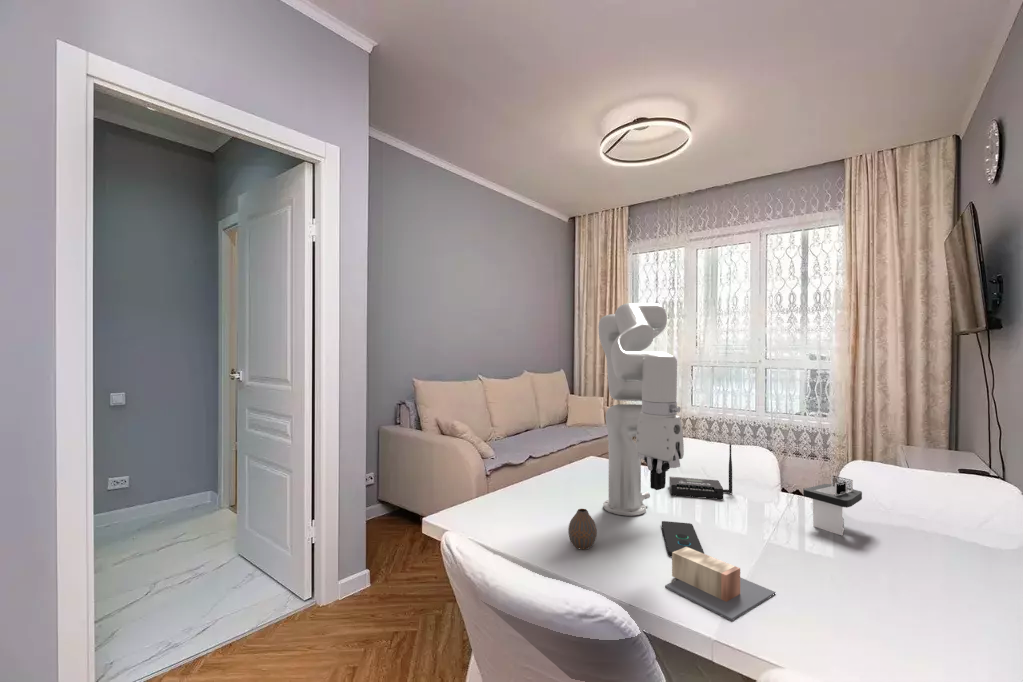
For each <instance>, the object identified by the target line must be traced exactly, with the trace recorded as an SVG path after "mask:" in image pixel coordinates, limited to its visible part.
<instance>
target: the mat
mask: <svg viewBox="0 0 1023 682" xmlns="http://www.w3.org/2000/svg"><path fill="white" fill-rule="evenodd" d="M664 588H666V589H668V590H669V591H671V592H674V593H675V594H677V595H679V596H681V597H683V598H685V599H687V600H690V601H691V602H693V603H696V604H697V605H699V606H701V607H703V608H705V609H707V610H710V611H711V612H713V613H715V614H717V615H719V616H720V617H723V618H725V619H727V620H729V621H731V622H733V621H734V620H735V619H737V618H739V617H740V616H743V614H746V613H747V612H748V611H750V610H752V609H754V608H755V607H757V606H758V605H760V604H761V603H763V602H765V601H766V599H767V600H768V599H770V598H771V597H770V596H772V595H773V594H775V593H776V591H775V590H772V589H769V588H766V587H764V586H762V585H759V584H757V583H755V582H753V581H750V580H748V579H745V578H743V577H741V576H740V594H739V595H738V596H736V597H734V598H732V599H730V600H729V601H727V602H726V601H724V600H721V599H719V598H717V597H715V596H713V595H711V594H709V593H707V592H705V591H702V590H700V589H698V588H696V587H694V586H692V585H690V584H688V583H685V582H683V581H681V580H679V579H676V580H675V581H674V580H673V581H671V582H670V583H667V584H665V586H664ZM775 595H776V594H775ZM773 596H774V595H773ZM773 596H772V597H773ZM769 597H770V598H769Z"/></svg>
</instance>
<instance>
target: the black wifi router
mask: <svg viewBox="0 0 1023 682" xmlns="http://www.w3.org/2000/svg"><path fill="white" fill-rule="evenodd" d="M728 445H729V458H728V460H729V461H728V489H726V488H723V486H722V485H721V483H720V480H718V479H707V478H706V479H705V478H692V477H691V478H690V477H678V476H677V477H676V476H669V481H668V482H669V484H668V485H669V490H670V496H675V495H676V497H686V496H691V497H690V498H698V497H706V498H705V499H709V498H717V499H716V500H721V499H723V500H724V493H725V494H726V493H727V494H730V493H732V494H733V461H732V443H729V444H728ZM692 496H693V497H692Z"/></svg>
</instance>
